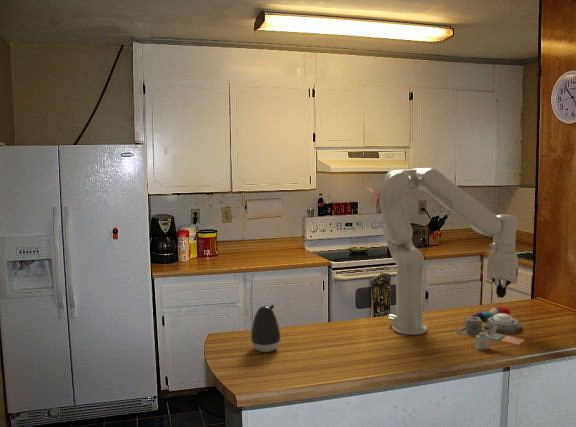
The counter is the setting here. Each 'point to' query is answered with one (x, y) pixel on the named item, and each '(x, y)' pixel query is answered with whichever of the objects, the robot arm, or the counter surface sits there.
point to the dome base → (504, 326)
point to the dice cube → (473, 325)
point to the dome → (503, 318)
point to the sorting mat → (498, 336)
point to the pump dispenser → (265, 330)
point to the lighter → (485, 337)
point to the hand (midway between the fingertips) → (500, 296)
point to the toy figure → (492, 312)
